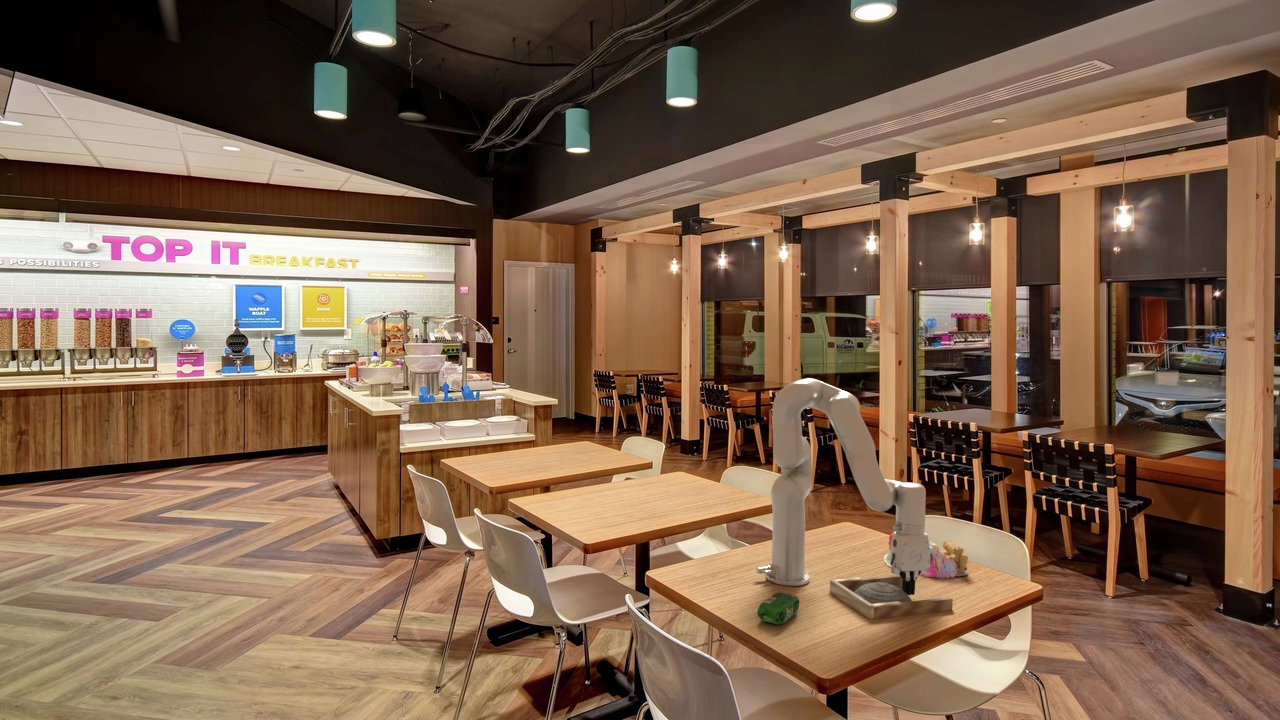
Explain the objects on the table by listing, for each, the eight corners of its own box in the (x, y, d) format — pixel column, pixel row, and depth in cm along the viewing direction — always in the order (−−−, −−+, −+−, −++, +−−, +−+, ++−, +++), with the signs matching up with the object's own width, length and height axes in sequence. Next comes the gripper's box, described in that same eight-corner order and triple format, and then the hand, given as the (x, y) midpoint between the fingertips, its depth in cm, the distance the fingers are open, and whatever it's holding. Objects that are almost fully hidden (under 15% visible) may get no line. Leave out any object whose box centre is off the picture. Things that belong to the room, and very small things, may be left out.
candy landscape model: (953, 556, 232) (953, 529, 232) (981, 581, 209) (981, 551, 208) (876, 553, 234) (876, 526, 234) (895, 578, 211) (895, 548, 211)
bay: (869, 619, 180) (869, 605, 179) (829, 591, 198) (830, 579, 198) (952, 609, 186) (952, 597, 186) (906, 584, 205) (906, 572, 205)
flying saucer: (847, 592, 199) (847, 573, 199) (900, 593, 198) (901, 574, 198) (861, 613, 184) (862, 592, 184) (919, 614, 183) (920, 594, 183)
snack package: (752, 625, 175) (752, 605, 175) (778, 605, 188) (778, 586, 188) (778, 633, 171) (779, 612, 171) (803, 612, 184) (803, 593, 184)
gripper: (895, 533, 187) (893, 601, 188) (942, 530, 191) (940, 596, 192) (878, 526, 195) (876, 590, 195) (924, 522, 199) (922, 586, 199)
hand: (908, 593), depth 194 cm, fingers closed
